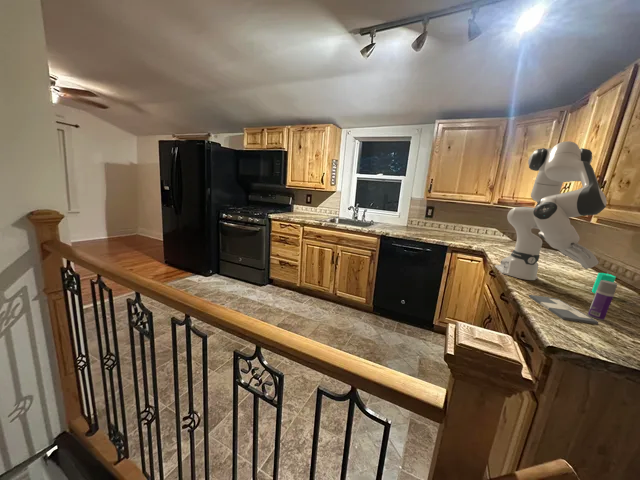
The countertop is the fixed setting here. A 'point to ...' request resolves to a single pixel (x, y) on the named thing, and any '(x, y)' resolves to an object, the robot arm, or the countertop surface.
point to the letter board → (562, 309)
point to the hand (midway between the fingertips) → (576, 260)
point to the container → (602, 299)
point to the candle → (602, 277)
